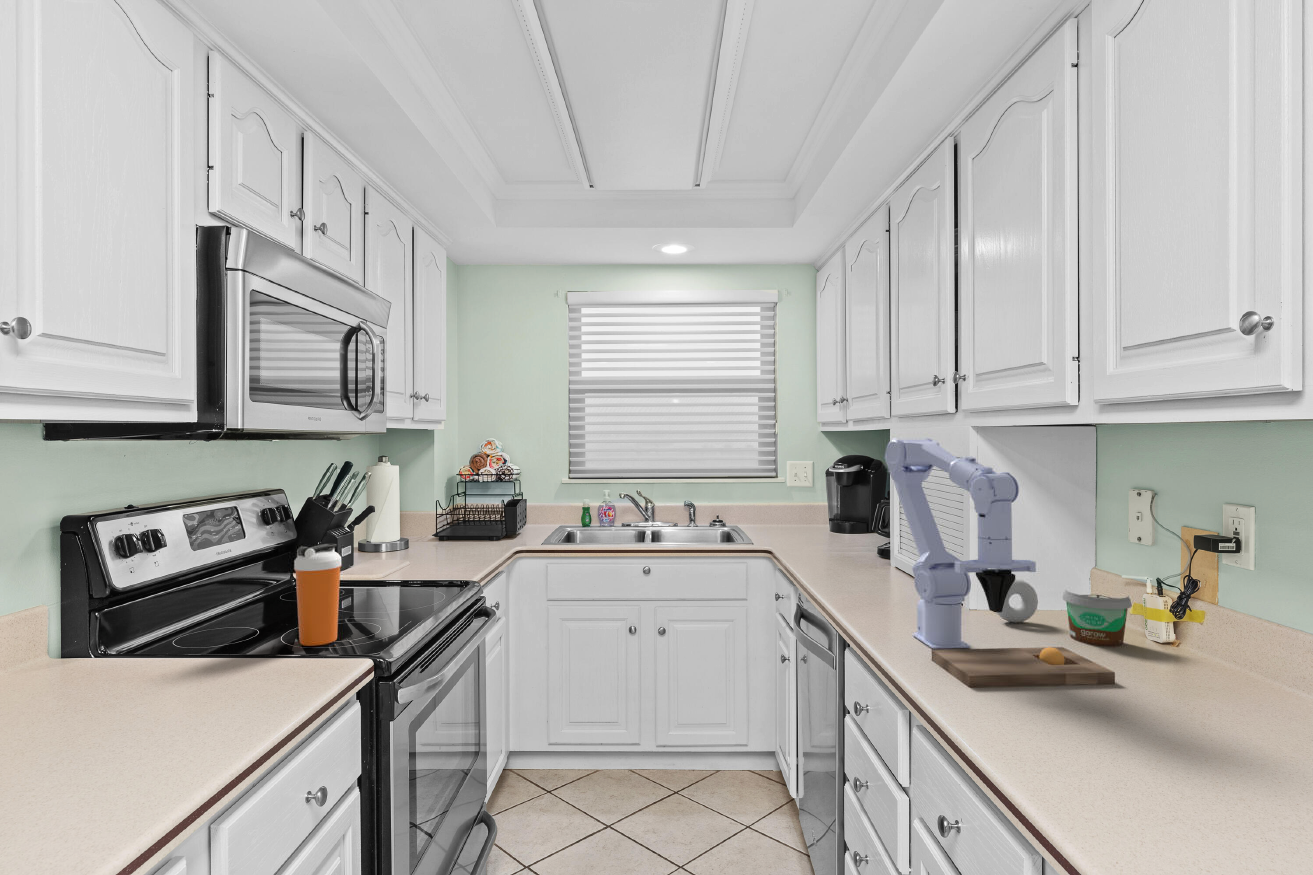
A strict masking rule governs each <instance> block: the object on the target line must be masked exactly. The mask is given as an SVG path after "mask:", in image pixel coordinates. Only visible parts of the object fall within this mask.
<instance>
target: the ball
mask: <svg viewBox="0 0 1313 875" xmlns="http://www.w3.org/2000/svg"><path fill="white" fill-rule="evenodd" d="M1048 647H1049V648H1045V649H1043V650H1042V651H1041V653H1040V656H1039V658H1040V660H1042V661H1044V662H1046V663H1048V664H1049V665H1064V662H1065V660H1064V656H1063V654H1062V653H1061V652H1060V651H1059V650H1058V649H1055V648H1051V646H1048Z"/></svg>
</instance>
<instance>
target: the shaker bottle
mask: <svg viewBox="0 0 1313 875" xmlns="http://www.w3.org/2000/svg"><path fill="white" fill-rule="evenodd" d="M337 546H338V545H337V543H324V544H319V545H318V544H317V545H313V546H310V547H308V546H300V547H299V548H298V549H297V551H296V553H297V554H296V558H295V559H294V560H293V562H294V564H293V565H294V566H293V567H294V568H293V569H294V571H295V580H296V581H295V584H296V600H297V601H296V602H297V603H296V604H297V618H298V620H297V621H298V635H299V636H298V638H299V639H298V640H299V644H300V645H302V646H307V647H310V646H311V647H312V646H313V647H314V646H323V645H328V644H330V643H333V642H335V641H337V639H338V626H339V625H338V623H339V622H338V621H339V604H340V602H339V600H340V581H341V580H340V579H341V567H342V557H341V555H340V554H339V553H338V552H336V551H335V548H336V547H337Z"/></svg>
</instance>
